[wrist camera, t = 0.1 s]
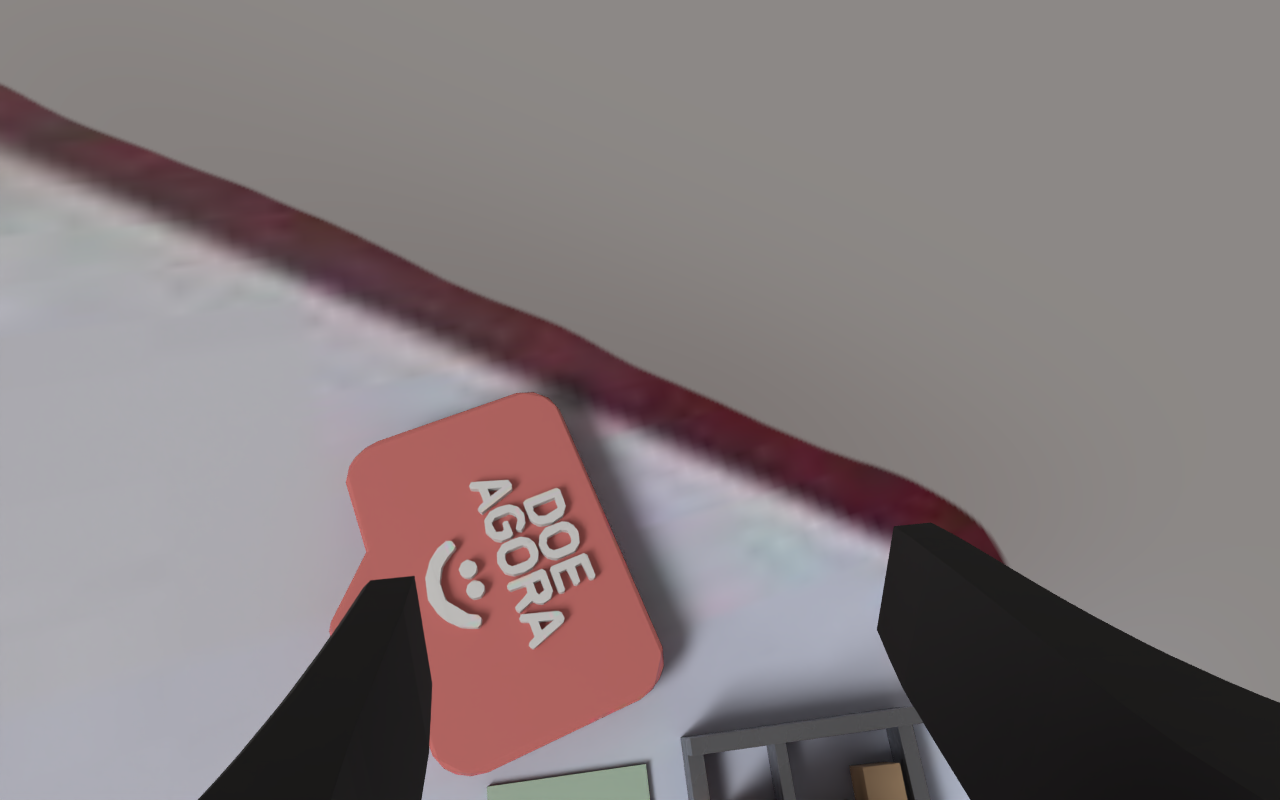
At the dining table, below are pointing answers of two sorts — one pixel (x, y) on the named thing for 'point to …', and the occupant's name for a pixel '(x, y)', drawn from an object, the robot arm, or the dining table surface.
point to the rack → (779, 734)
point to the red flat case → (504, 579)
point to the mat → (579, 786)
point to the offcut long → (878, 781)
